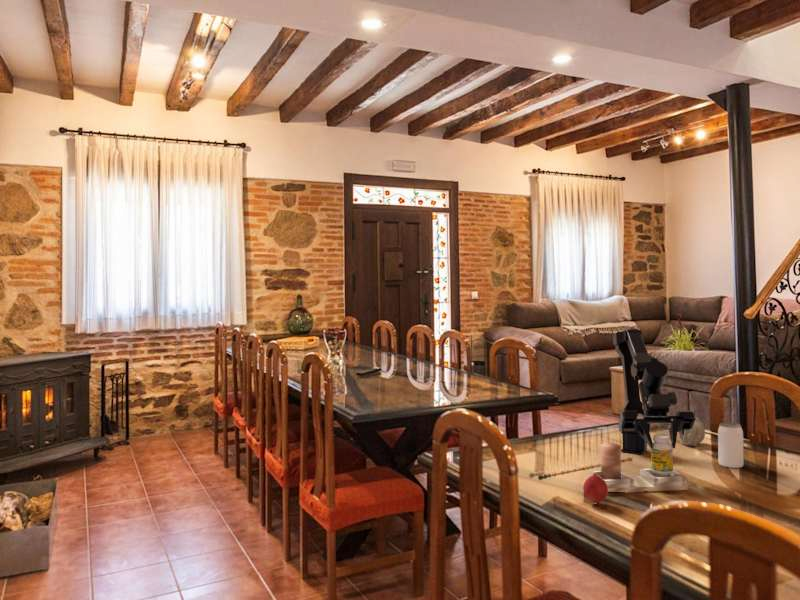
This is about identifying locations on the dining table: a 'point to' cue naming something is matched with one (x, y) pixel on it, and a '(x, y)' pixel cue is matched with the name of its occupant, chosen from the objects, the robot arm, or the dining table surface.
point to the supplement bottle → (662, 455)
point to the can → (730, 445)
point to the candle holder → (644, 482)
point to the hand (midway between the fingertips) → (663, 447)
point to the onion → (595, 488)
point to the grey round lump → (693, 434)
